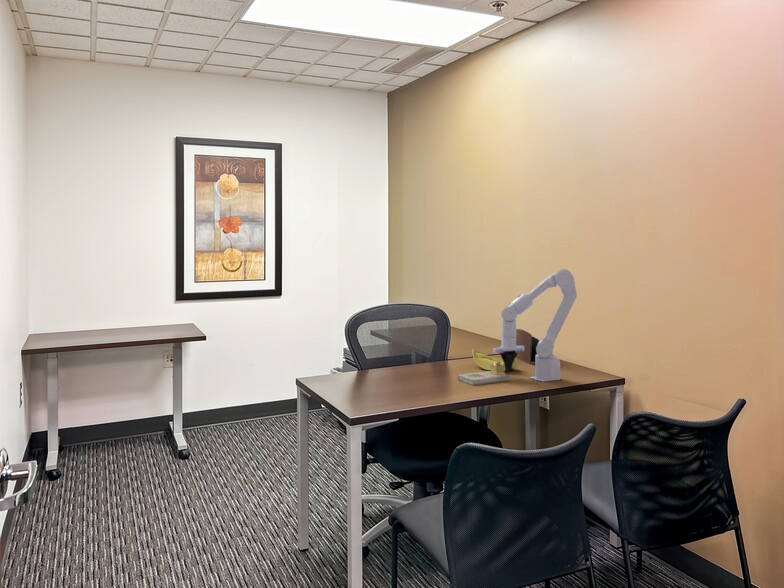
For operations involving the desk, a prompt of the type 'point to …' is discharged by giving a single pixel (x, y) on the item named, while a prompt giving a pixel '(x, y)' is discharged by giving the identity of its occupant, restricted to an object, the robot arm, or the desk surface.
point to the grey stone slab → (482, 378)
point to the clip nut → (497, 368)
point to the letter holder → (526, 346)
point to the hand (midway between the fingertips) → (508, 369)
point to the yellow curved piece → (488, 360)
